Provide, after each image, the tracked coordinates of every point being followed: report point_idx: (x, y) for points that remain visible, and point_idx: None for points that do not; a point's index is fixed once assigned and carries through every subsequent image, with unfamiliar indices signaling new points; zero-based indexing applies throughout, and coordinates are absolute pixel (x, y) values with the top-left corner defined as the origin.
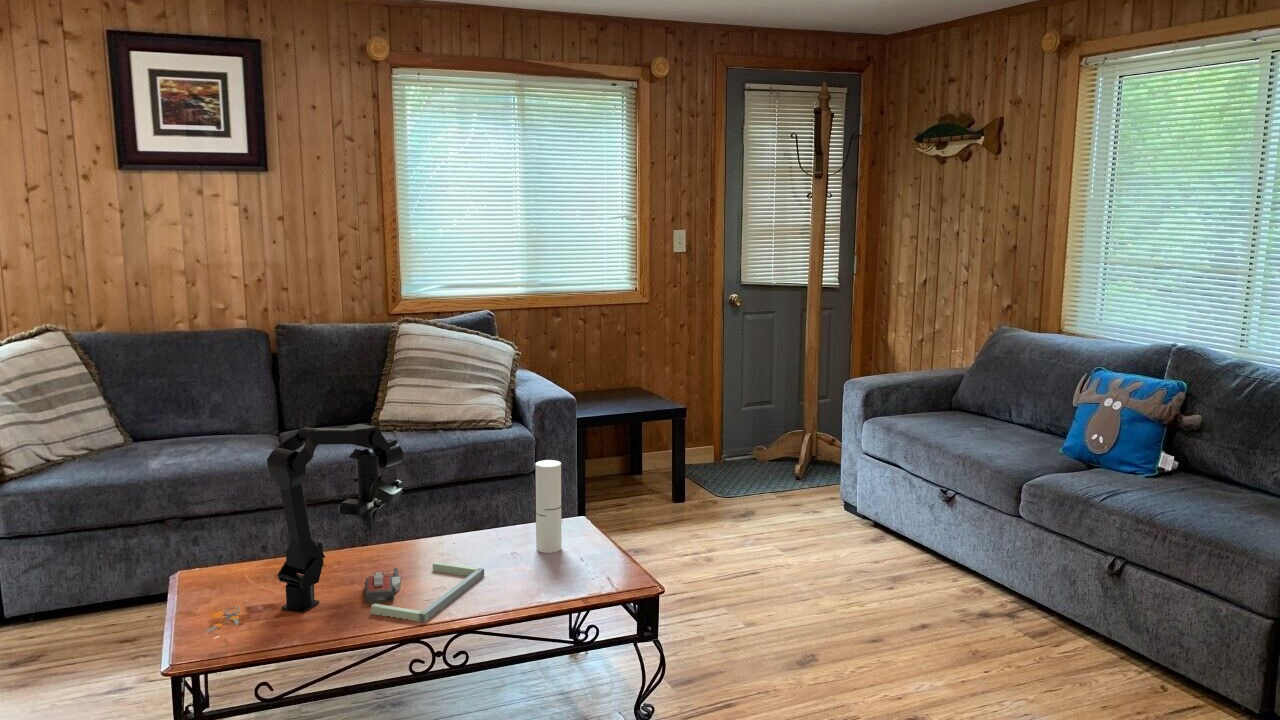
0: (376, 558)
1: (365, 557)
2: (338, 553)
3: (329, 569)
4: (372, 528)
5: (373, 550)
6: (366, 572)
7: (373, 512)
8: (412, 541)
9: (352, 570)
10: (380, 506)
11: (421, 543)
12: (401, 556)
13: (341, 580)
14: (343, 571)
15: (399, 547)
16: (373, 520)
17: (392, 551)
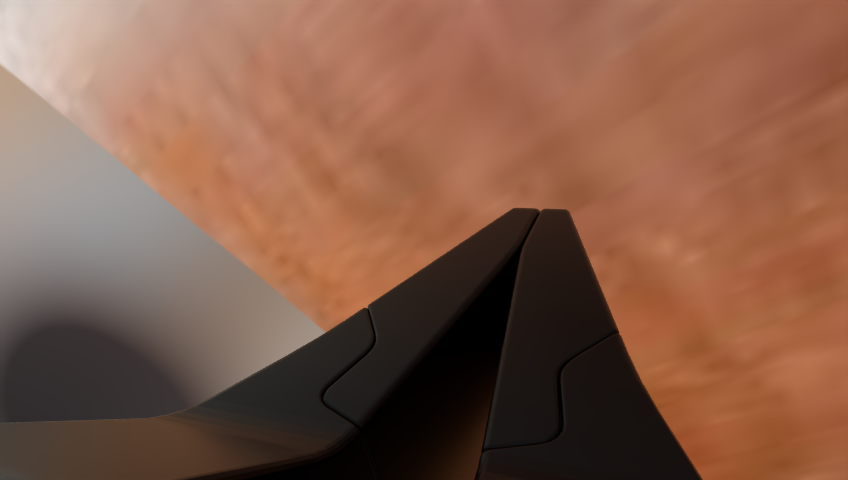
0: (360, 171)
1: (383, 235)
2: None
3: (629, 327)
4: (531, 220)
5: (289, 246)
6: (590, 90)
7: (487, 467)
8: (84, 126)
9: (592, 200)
10: (118, 478)
11: (59, 60)
12: (248, 42)
13: (808, 171)
14: (630, 243)
15: (176, 142)
16: (484, 298)
17: (235, 145)
